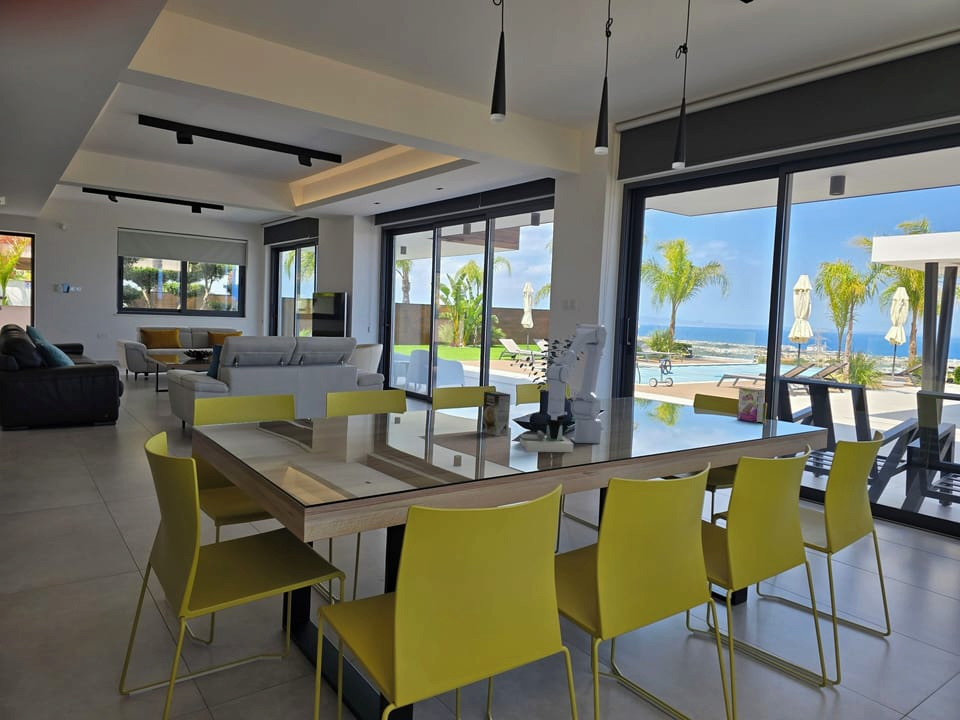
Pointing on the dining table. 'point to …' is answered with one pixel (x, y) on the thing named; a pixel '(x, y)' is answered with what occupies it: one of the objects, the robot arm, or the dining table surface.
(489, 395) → the coffee box
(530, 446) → the socket plate
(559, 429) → the plug
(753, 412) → the candy bar box
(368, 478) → the dining table surface
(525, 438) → the shutter
